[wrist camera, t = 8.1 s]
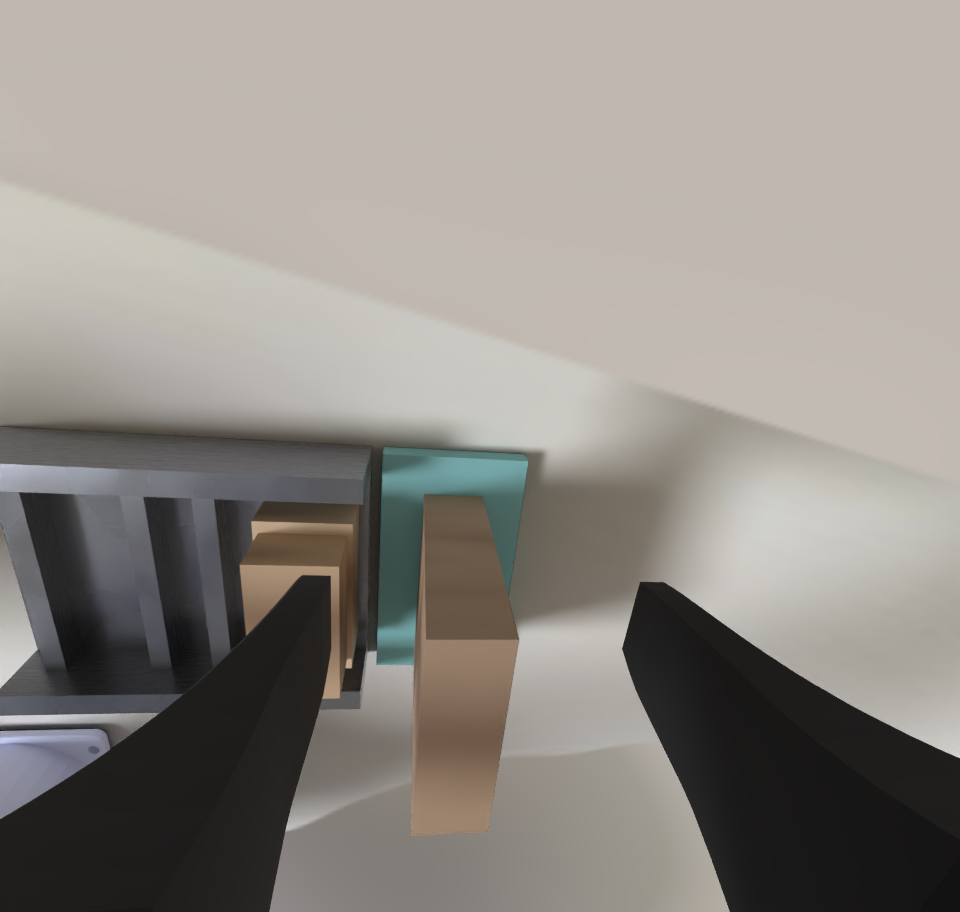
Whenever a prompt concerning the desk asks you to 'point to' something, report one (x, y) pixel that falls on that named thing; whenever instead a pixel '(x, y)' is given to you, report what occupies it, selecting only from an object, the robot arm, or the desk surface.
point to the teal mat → (402, 526)
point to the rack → (151, 557)
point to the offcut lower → (319, 522)
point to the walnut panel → (459, 668)
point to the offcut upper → (277, 569)
